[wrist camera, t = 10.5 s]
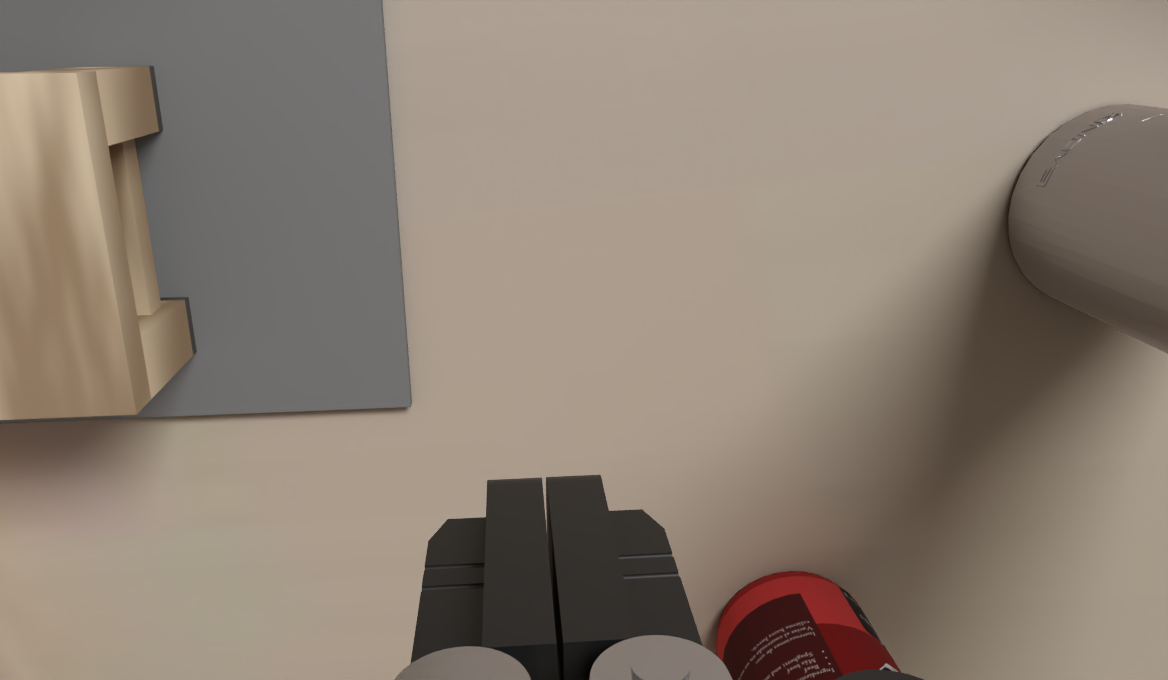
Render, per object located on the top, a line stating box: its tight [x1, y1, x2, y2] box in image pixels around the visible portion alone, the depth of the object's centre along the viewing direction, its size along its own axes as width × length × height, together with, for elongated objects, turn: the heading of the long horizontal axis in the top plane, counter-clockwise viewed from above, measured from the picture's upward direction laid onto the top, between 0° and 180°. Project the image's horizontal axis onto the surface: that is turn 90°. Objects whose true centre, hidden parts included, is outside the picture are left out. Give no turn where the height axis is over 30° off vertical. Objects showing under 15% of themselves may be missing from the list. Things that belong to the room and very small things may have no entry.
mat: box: [0, 0, 412, 423], centre depth 38 cm, size 23×18×1 cm
